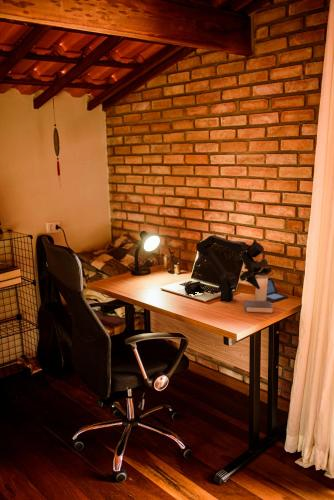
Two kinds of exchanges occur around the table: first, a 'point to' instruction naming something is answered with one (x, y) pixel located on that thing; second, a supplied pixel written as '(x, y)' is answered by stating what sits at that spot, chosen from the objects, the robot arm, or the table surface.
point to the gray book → (258, 306)
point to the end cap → (194, 288)
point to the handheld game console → (273, 292)
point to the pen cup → (261, 287)
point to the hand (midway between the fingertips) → (263, 287)
